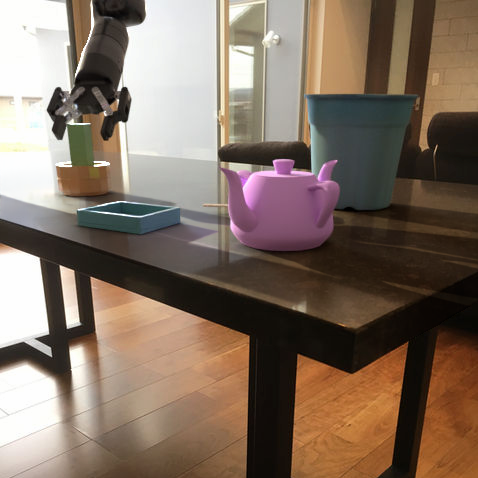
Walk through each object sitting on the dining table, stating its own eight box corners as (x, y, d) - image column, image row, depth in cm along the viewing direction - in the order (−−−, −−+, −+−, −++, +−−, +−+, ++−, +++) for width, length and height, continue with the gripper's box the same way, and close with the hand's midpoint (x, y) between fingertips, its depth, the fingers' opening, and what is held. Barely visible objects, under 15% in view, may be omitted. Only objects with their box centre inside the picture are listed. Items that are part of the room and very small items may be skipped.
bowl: (48, 194, 91) (44, 164, 89) (85, 188, 98) (82, 160, 96) (86, 198, 87) (83, 167, 85) (122, 191, 94) (120, 163, 92)
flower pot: (418, 214, 74) (434, 92, 68) (303, 213, 75) (310, 91, 69) (390, 197, 89) (401, 95, 83) (295, 196, 90) (299, 95, 84)
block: (73, 190, 91) (66, 123, 87) (81, 188, 94) (74, 123, 90) (90, 190, 91) (83, 123, 87) (97, 188, 94) (90, 123, 89)
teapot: (219, 253, 53) (218, 164, 50) (238, 226, 66) (238, 154, 63) (336, 257, 52) (343, 166, 49) (332, 229, 65) (337, 155, 61)
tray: (77, 225, 66) (76, 209, 65) (121, 215, 73) (120, 200, 72) (140, 234, 62) (139, 217, 61) (180, 222, 68) (180, 207, 67)
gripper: (56, 51, 93) (31, 120, 87) (131, 50, 91) (112, 121, 85) (72, 85, 100) (51, 151, 94) (143, 84, 98) (126, 152, 92)
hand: (80, 137), depth 89 cm, fingers open, 8 cm apart
